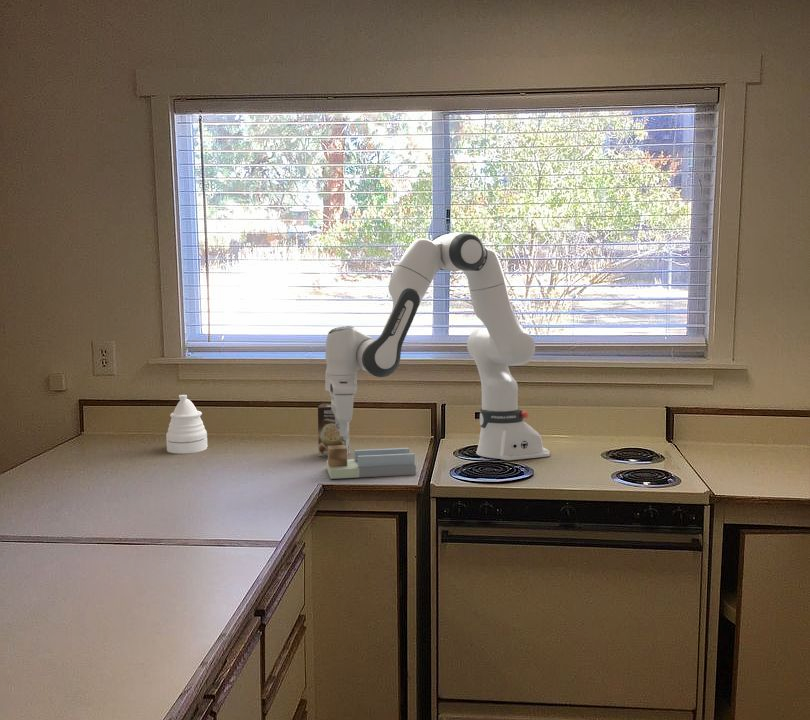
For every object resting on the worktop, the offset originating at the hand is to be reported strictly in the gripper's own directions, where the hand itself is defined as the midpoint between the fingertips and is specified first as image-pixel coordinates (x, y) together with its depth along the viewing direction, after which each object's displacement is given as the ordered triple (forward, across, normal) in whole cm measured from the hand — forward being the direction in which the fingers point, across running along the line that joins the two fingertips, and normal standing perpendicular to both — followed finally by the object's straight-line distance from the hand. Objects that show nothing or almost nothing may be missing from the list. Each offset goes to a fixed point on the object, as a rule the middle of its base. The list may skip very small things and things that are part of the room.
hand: (340, 432), depth 222 cm
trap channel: (+12, 0, +9) cm, 14 cm away
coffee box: (+12, -23, +1) cm, 26 cm away
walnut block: (+9, 0, -1) cm, 9 cm away
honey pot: (+12, -43, -45) cm, 64 cm away
